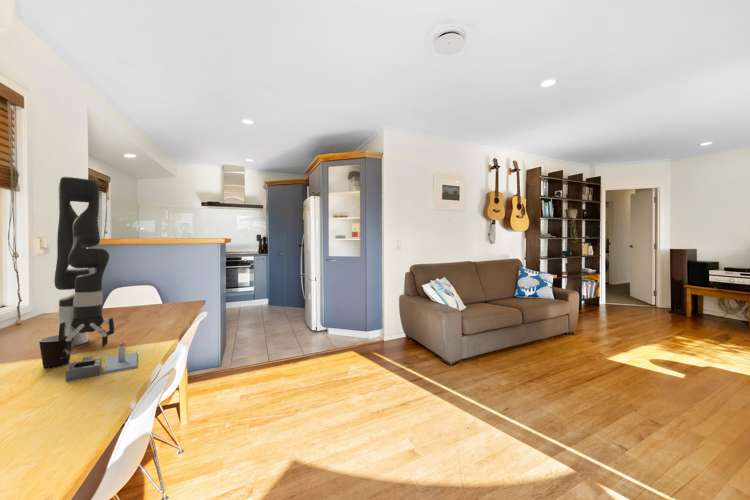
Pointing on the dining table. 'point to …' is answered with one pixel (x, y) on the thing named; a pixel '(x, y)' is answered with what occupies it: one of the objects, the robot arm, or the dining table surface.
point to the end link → (84, 368)
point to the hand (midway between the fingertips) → (87, 348)
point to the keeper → (121, 361)
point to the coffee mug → (54, 352)
